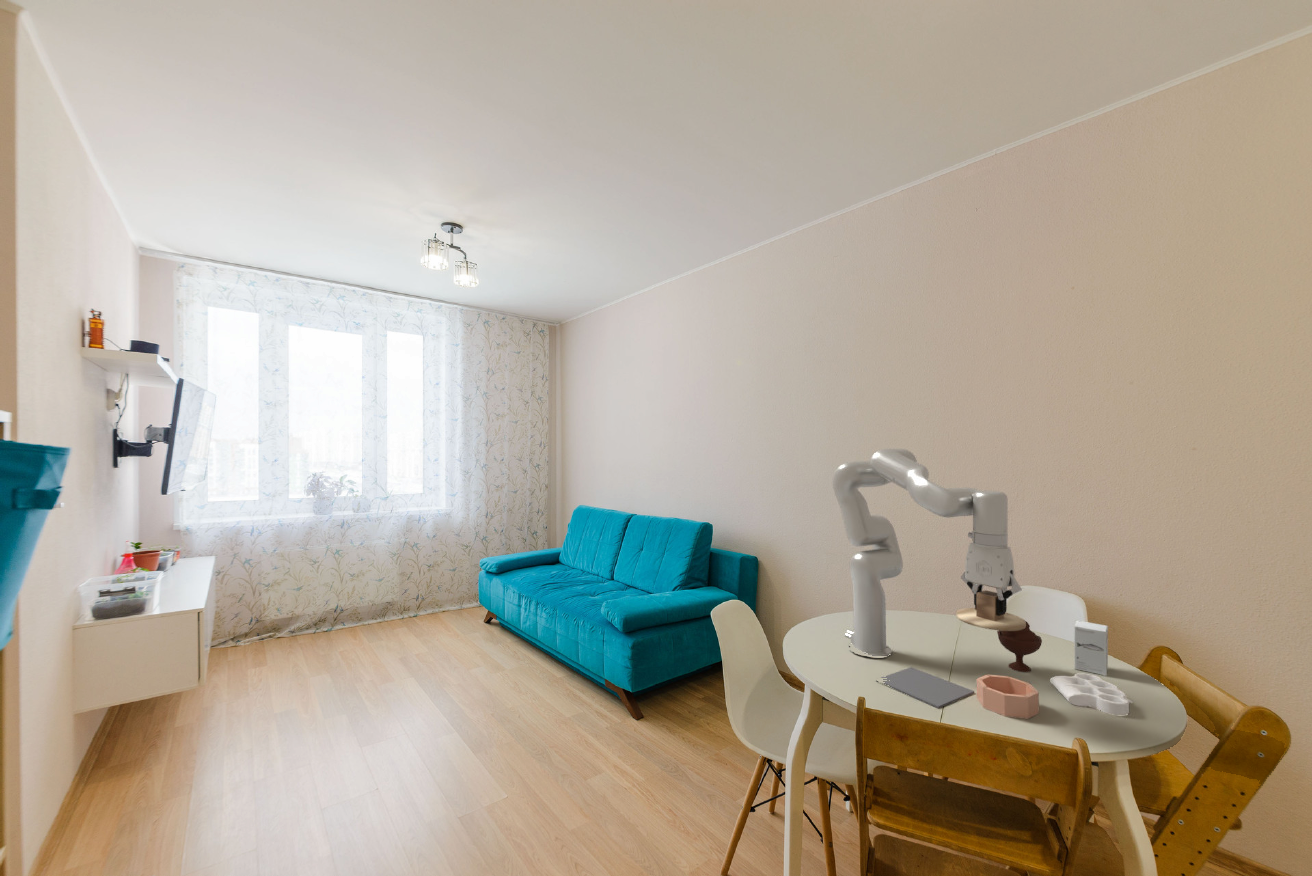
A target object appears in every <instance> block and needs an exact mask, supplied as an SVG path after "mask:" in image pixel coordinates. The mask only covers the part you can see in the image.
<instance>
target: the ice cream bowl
mask: <svg viewBox="0 0 1312 876" xmlns="http://www.w3.org/2000/svg"><path fill="white" fill-rule="evenodd" d="M1022 619H1023V618H1022ZM1023 620H1025V619H1023ZM1025 622H1026V628H1024V629H1022V630H1018V631H1000V630H996V632H997V637H998V641H999V642H1000V644H1001V645H1002V646H1003V647H1004V649H1005V650H1007V651H1008V652H1010V653H1013V654H1014V655H1015V661H1014V662H1009V663H1008V666H1007V667H1008V668H1009V669H1011V670H1013V671H1016V672H1019V673H1029V672H1031V671H1032V670H1031V667H1030V666H1029V665H1028V664H1026V663H1024V656H1028V655H1031V654H1034V653H1036V652H1038V651H1039V650H1040V648H1041V647H1042V643H1043V640H1042V637H1041V636H1039V635H1038V634H1036V633H1035V632H1034V631H1032V630H1031V626H1030V623H1029V621H1027V620H1025Z"/></svg>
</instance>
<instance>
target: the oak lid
mask: <svg viewBox="0 0 1312 876" xmlns="http://www.w3.org/2000/svg"><path fill="white" fill-rule="evenodd" d="M996 599H998V595H997V592H995V591H991V590H985V589H984V590H982V591H981V592H978V593H976V610H975V607H966V608H965V607H964V608H959V609H958V610H957V611H956V613H955V615H956V618H957V619H958V620H959V621H961V622H962V623H965V624H967V625H970V626H974V627H977V628H981V629H987V630H991V631H993V630H994V631H999V630H1000V631H1018V630H1022V629H1024V628H1026V622H1027V621H1026V620H1025V619H1024V620H1023V618H1022V617H1020V616H1018V615H1015V614H1012V613H1009V612H1007V611H1006V612H1005V614H1004V615H1001V616H997V615H996ZM1025 621H1026V622H1025Z"/></svg>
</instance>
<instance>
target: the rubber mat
mask: <svg viewBox="0 0 1312 876" xmlns="http://www.w3.org/2000/svg"><path fill="white" fill-rule="evenodd" d="M885 676H886V677H884V676H881V677H880V678H887V679H883V680H887V681H883V682H885V683H884V684H886V685H889V686H890V687H892V688H894V689H896V690H895V691H897V690H898V691H897V692H899V691H900V692H899V693H901V692H902V694H904V693H905V694H904V695H906V694H907V696H908V695H909V696H908V697H910V698H912V699H913V698H914V700H918V701H920V702H922V703H924V704H927V705H929V706H931V707H934V708H936V709H940V708H943V707H945V706H947V705H950V704H952V703H954V702H957V701H959V700H961V699H964V698H966V697H969V696H971V695H973V694H975V690H972V689H970V688H968V687H965V686H962V685H959V684H957V683H955V682H951V681H950V680H949V681H948V680H946V679H944V678H941V677H938V676H936V675H933V674H931V673H928V672H926V671H923V670H920V669H918V668H915V667H912V666H911V667H908V668H905V669H902V670H899V671H897V672H896V671H895V672H894V673H890V674H887V675H885ZM889 680H890V681H889ZM890 687H889V688H890ZM892 688H891V689H892ZM894 689H893V690H894Z"/></svg>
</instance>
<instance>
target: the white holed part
mask: <svg viewBox="0 0 1312 876" xmlns="http://www.w3.org/2000/svg"><path fill="white" fill-rule="evenodd" d="M1049 681H1050V684H1051V685H1053V686H1054V687H1055V689H1057V690H1058V693H1060V694H1061V695H1062V696H1063V697H1064V698H1065V699H1066V701H1067V702H1069V704H1071V705H1074V706H1079V707H1087V706H1090V707H1089V708H1093V709H1096V708H1097V710H1098V709H1099V710H1098V711H1100V710H1101V711H1100V712H1102V711H1103V712H1102V713H1104V712H1105V714H1107V713H1110V714H1109V715H1111V714H1114V715H1113V716H1115V715H1126V714H1128V713H1129V714H1130V708H1129V707H1130V704H1132V703H1134V701H1133V700H1131V699H1129V698H1127V696H1126V694H1125V692H1124V691H1121V690H1120V689H1119V688H1118V686H1117V685H1115V684H1113V683H1111V682H1108V681H1106V680H1103V679H1102V678H1101V677H1100V676H1098V675H1095V674H1090V673H1084V672H1079V673H1075V674H1074V675H1072V676H1070V675H1069V676H1068V675H1055V676H1053V677H1051V678H1050V680H1049Z"/></svg>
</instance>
